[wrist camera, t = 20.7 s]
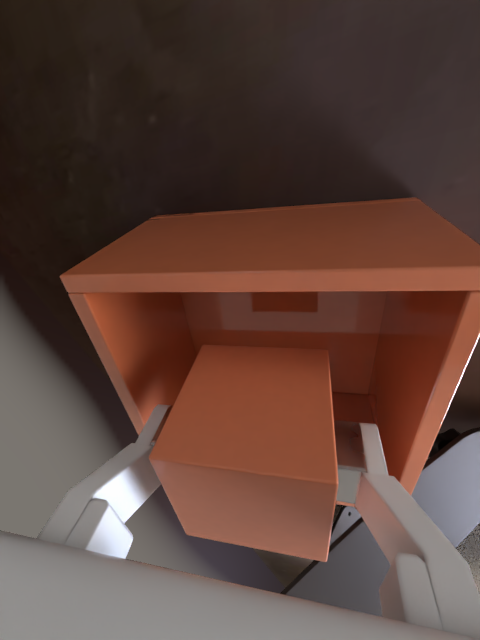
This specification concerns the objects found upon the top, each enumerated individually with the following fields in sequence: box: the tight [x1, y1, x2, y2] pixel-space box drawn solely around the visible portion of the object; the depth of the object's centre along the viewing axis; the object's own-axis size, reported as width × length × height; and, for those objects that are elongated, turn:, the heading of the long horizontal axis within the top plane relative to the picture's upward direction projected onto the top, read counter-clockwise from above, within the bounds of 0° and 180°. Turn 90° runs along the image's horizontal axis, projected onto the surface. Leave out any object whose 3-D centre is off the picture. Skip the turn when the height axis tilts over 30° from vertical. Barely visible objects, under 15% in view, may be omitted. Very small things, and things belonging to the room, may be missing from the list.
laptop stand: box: [280, 427, 480, 617], centre depth 21 cm, size 23×23×9 cm
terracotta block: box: [149, 345, 339, 562], centre depth 10 cm, size 4×4×4 cm
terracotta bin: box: [60, 197, 480, 507], centre depth 13 cm, size 11×11×6 cm
